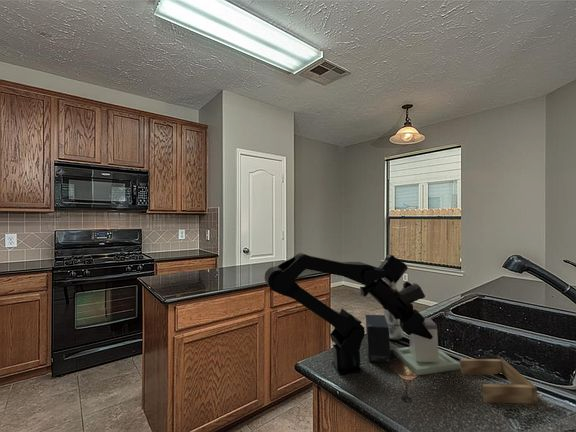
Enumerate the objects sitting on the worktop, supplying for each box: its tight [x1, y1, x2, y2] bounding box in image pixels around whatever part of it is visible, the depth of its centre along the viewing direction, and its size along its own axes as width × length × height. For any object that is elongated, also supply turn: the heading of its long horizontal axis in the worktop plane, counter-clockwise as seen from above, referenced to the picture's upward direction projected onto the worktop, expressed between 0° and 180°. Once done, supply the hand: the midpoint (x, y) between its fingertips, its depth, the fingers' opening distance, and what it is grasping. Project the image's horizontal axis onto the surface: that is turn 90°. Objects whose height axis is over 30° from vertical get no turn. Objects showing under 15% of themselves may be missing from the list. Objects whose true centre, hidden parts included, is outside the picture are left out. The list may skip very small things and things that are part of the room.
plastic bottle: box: [383, 280, 405, 341], centre depth 101 cm, size 6×7×20 cm
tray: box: [392, 346, 461, 376], centre depth 85 cm, size 12×12×2 cm
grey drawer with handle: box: [408, 317, 439, 362], centre depth 85 cm, size 6×6×11 cm
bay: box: [459, 358, 539, 405], centre depth 71 cm, size 10×12×4 cm
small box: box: [364, 314, 391, 363], centre depth 91 cm, size 11×6×10 cm, turn 169°
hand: (427, 333), depth 85 cm, fingers closed on grey drawer with handle, 6 cm apart
